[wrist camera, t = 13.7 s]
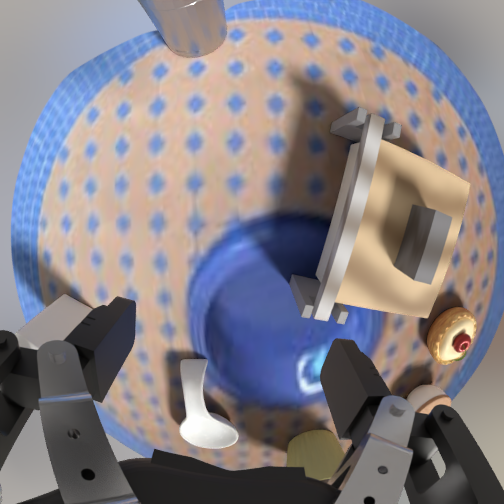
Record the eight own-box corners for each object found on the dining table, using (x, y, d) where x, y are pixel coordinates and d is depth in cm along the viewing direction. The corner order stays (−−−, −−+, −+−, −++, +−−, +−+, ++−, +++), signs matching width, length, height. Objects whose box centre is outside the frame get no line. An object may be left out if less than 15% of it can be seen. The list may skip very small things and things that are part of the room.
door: (365, 115, 29) (390, 104, 22) (466, 167, 30) (497, 168, 24) (311, 312, 35) (323, 339, 29) (415, 328, 36) (437, 351, 30)
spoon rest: (241, 437, 52) (241, 462, 45) (189, 437, 52) (185, 461, 45) (226, 355, 46) (223, 382, 39) (161, 357, 46) (150, 382, 39)
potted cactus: (269, 458, 54) (278, 563, 25) (291, 421, 51) (312, 548, 22) (326, 460, 56) (349, 554, 27) (354, 424, 52) (394, 531, 23)
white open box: (331, 122, 36) (359, 106, 26) (436, 166, 38) (477, 168, 28) (289, 283, 42) (301, 316, 32) (394, 305, 44) (424, 334, 34)
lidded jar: (438, 392, 51) (456, 415, 42) (402, 416, 52) (417, 442, 43) (432, 368, 49) (453, 393, 40) (393, 396, 50) (409, 424, 41)
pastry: (470, 314, 46) (495, 332, 38) (440, 358, 48) (462, 381, 40) (446, 293, 44) (474, 312, 35) (412, 344, 46) (435, 370, 38)
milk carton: (91, 339, 45) (41, 404, 26) (61, 323, 44) (6, 378, 26) (96, 310, 43) (37, 373, 25) (64, 292, 42) (0, 345, 24)
